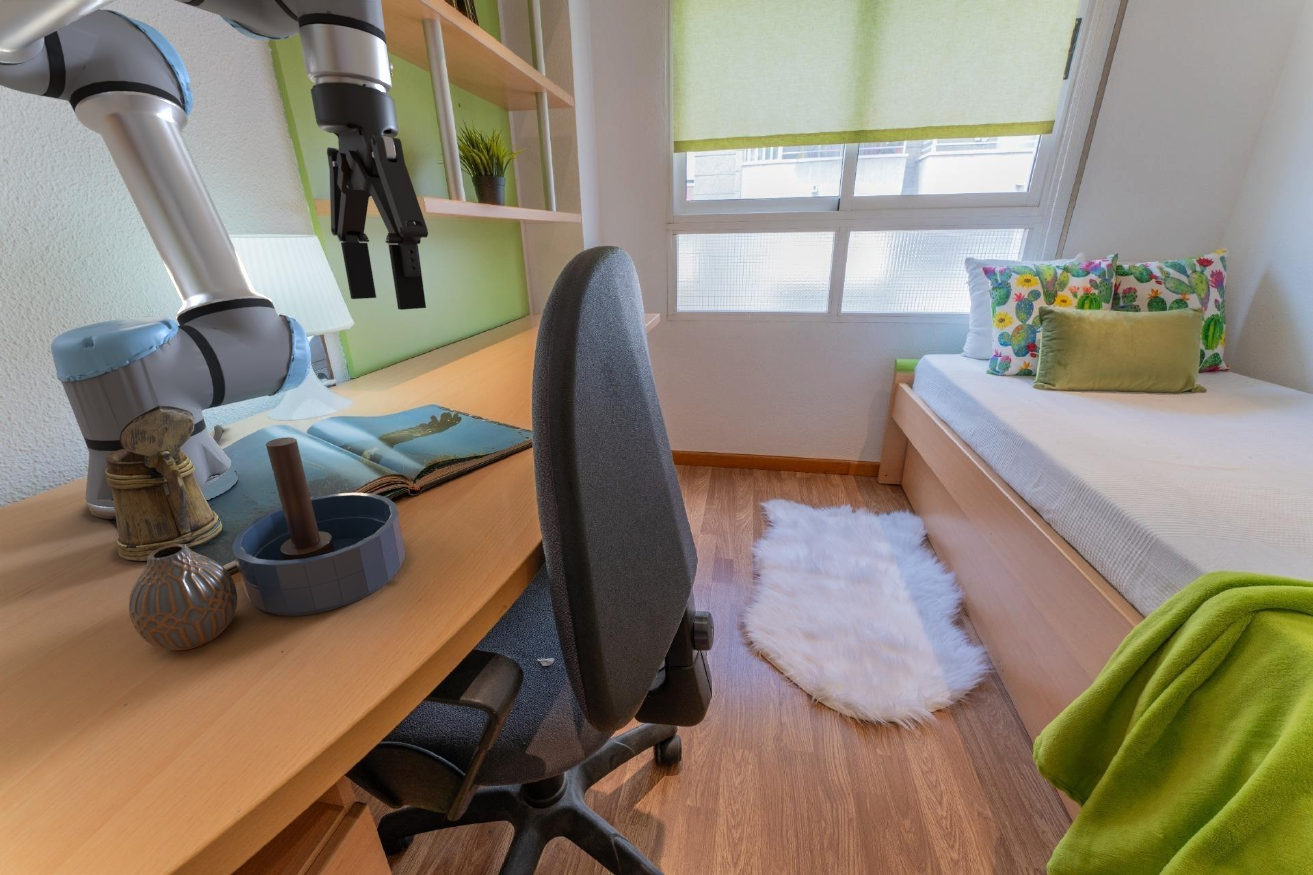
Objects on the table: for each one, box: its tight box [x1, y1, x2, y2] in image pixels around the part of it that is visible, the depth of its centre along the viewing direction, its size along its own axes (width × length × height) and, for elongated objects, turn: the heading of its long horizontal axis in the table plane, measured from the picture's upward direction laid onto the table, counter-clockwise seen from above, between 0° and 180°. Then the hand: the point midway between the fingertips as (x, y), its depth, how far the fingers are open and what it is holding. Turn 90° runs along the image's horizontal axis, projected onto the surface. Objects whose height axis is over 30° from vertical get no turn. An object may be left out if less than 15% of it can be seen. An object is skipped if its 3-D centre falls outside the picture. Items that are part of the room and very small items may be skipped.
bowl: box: [231, 492, 406, 617], centre depth 55 cm, size 14×14×6 cm
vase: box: [128, 544, 238, 651], centre depth 45 cm, size 7×7×9 cm
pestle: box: [265, 436, 335, 561], centre depth 52 cm, size 4×4×15 cm
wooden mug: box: [105, 406, 223, 562], centre depth 57 cm, size 9×14×18 cm, turn 61°
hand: (386, 303), depth 60 cm, fingers open, 13 cm apart
